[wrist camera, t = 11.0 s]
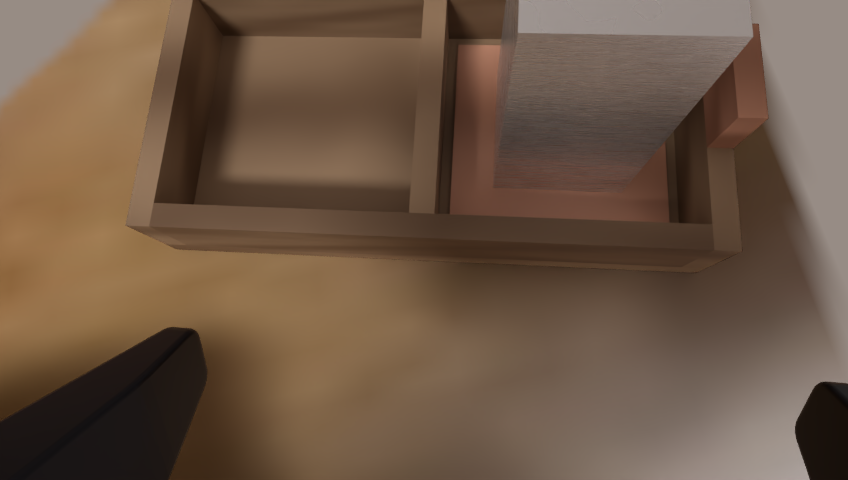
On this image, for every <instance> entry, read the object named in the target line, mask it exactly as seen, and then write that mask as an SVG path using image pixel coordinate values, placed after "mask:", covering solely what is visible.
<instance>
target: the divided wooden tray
mask: <svg viewBox="0 0 848 480" xmlns="http://www.w3.org/2000/svg"><path fill="white" fill-rule="evenodd" d="M505 3H506V0H171V5H170V10H169V15H168V20H167V25H166V30H165V34H164V39H163V44H162V49H161V54H160V59H159V64H158V69H157V74H156V79H155V83H154V88H153V93H152V98H151V103H150V108H149V113H148V118H147V123H146V127H145V132H144V137H143V142H142V147H141V152H140V157H139V162H138V167H137V171H136V176H135V181H134V186H133V191H132V196H131V201H130V206H129V211H128V215H127V220H126V226H128V227H130V228H132V229H134V230H136V231H139V232H141V233H143V234H145V235H147V236H149V237H151V238H154V239H156V240H158V241H160V242H162V243H164V244H167V245H169V246H171V247H173V248H175V249H182V250H204V251H226V252H248V253H270V254H292V255H314V256H336V257H358V258H380V259H402V260H424V261H446V262H468V263H490V264H512V265H534V266H556V267H578V268H600V269H622V270H644V271H667V272H689V273H697V272H699V271H701V270H703V269H706V268H708V267H710V266H712V265H714V264H716V263H718V262H721V261H723V260H725V259H727V258H729V257H731V256H734V255H736V254H738V253H740V252H742V240H741V228H740V217H739V205H738V194H737V182H736V171H735V159H734V148H735V147H736V146H737V145H738V144H739V143H740V142H742V141H743V140H744V139H745V138H746V137H747V136H749V135H750V134H751V133H752V132H753V131H754V130H756V129H757V128H758V127H759V126H760V125H761V124H763V123H764V122H765V121H766V120H767V119H768V108H767V99H766V89H765V80H764V70H763V60H762V51H761V41H760V32H759V24H752V28H753V38H752V39H751V40H750V41H749V42H748V44H747V45H746V46H745V47H744V48H743V49H742V51H741V52H740V53H739V54H738V55H737V57H736V58H735V59H734V60H733V61H732V62H731V64H730V65H729V66H728V67H727V68H726V70H725V71H724V72H723V73H722V74H721V75H720V77H719V78H718V79H717V80H716V81H715V83H714V84H713V85H712V86H711V87H710V88H709V90H708V91H707V92H706V93H705V94H704V96H703V97H702V98H701V99H700V100H699V101H698V103H697V104H696V105H695V106H694V107H693V109H692V110H691V111H690V112H689V113H688V114H687V116H686V117H685V118H684V119H683V120H682V122H681V123H680V124H679V125H678V126H677V127H676V129H675V130H674V131H673V132H672V133H671V135H670V136H669V137H668V138H667V139H666V140H665V142H664V143H663V144H662V145H661V146H660V148H659V149H658V150H657V151H656V152H655V153H654V155H653V156H652V157H651V158H650V159H649V161H648V162H647V163H646V164H645V165H644V167H643V168H642V169H641V170H640V171H639V172H638V174H637V175H636V176H635V177H634V178H633V180H632V181H631V182H630V183H629V184H628V185H627V187H626V188H625V189H624V190H623V191H622V193H615V192H589V191H563V190H538V189H512V188H493V174H494V146H495V118H496V91H497V72H498V63H499V55H500V46H501V37H502V29H503V20H504V12H505Z"/></svg>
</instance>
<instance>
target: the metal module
mask: <svg viewBox="0 0 848 480" xmlns="http://www.w3.org/2000/svg"><path fill="white" fill-rule="evenodd" d="M752 38H753V28H752V18H751V7H750V0H506V3H505V12H504V20H503V29H502V37H501V46H500V55H499V63H498V72H497V91H496V118H495V146H494V174H493V188H512V189H538V190H563V191H589V192H615V193H622V191H623V190H624V189H625V188H626V187H627V185H628V184H629V183H630V182H631V181H632V180H633V178H634V177H635V176H636V175H637V174H638V172H639V171H640V170H641V169H642V168H643V167H644V165H645V164H646V163H647V162H648V161H649V159H650V158H651V157H652V156H653V155H654V153H655V152H656V151H657V150H658V149H659V148H660V146H661V145H662V144H663V143H664V142H665V140H666V139H667V138H668V137H669V136H670V135H671V133H672V132H673V131H674V130H675V129H676V127H677V126H678V125H679V124H680V123H681V122H682V120H683V119H684V118H685V117H686V116H687V114H688V113H689V112H690V111H691V110H692V109H693V107H694V106H695V105H696V104H697V103H698V101H699V100H700V99H701V98H702V97H703V96H704V94H705V93H706V92H707V91H708V90H709V88H710V87H711V86H712V85H713V84H714V83H715V81H716V80H717V79H718V78H719V77H720V75H721V74H722V73H723V72H724V71H725V70H726V68H727V67H728V66H729V65H730V64H731V62H732V61H733V60H734V59H735V58H736V57H737V55H738V54H739V53H740V52H741V51H742V49H743V48H744V47H745V46H746V45H747V44H748V42H749V41H750V40H751V39H752Z"/></svg>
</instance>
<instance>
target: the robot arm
mask: <svg viewBox="0 0 848 480" xmlns="http://www.w3.org/2000/svg"><path fill="white" fill-rule="evenodd" d="M206 380H207V366H206V362H205V358H204V354H203V349H202V345H201V341H200V337H199V334H198V333H197V331H195V330H193V329H190V328H178V327H169V328H166V329H164V330H162V331H160V332H158V333H157V334H155V335H153V336H151V337H149V338H148V339H146V340H144V341H142V342H141V343H139V344H137V345H135V346H133V347H132V348H130V349H128V350H126V351H125V352H123V353H121V354H119V355H117V356H116V357H114V358H112V359H110V360H109V361H107V362H105V363H103V364H101V365H100V366H98V367H96V368H94V369H93V370H91V371H89V372H87V373H85V374H84V375H82V376H80V377H78V378H77V379H75V380H73V381H71V382H69V383H68V384H66V385H64V386H62V387H60V388H59V389H57V390H55V391H53V392H52V393H50V394H48V395H46V396H44V397H43V398H41V399H39V400H37V401H36V402H34V403H32V404H30V405H28V406H27V407H25V408H23V409H21V410H20V411H18V412H16V413H14V414H12V415H11V416H9V417H7V418H5V419H3V420H2V421H0V480H168V479H169V477H170V475H171V472H172V470H173V468H174V465H175V463H176V460H177V458H178V455H179V452H180V450H181V447H182V445H183V442H184V439H185V437H186V434H187V432H188V429H189V426H190V424H191V421H192V419H193V416H194V413H195V411H196V408H197V405H198V403H199V400H200V398H201V395H202V392H203V390H204V387H205V384H206ZM795 434H796V439H797V443H798V446H799V449H800V452H801V455H802V457H803V460H804V463H805V466H806V469H807V472H808V475H809V478H810V480H848V383H836V382H821V383H819V384H817V385H816V386H815V387H814V389H813V390H812V392H811V394H810V396H809V398H808V400H807V402H806V404H805V406H804V408H803V409H802V411H801V413H800V415H799V417H798V419H797V422H796V426H795Z"/></svg>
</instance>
